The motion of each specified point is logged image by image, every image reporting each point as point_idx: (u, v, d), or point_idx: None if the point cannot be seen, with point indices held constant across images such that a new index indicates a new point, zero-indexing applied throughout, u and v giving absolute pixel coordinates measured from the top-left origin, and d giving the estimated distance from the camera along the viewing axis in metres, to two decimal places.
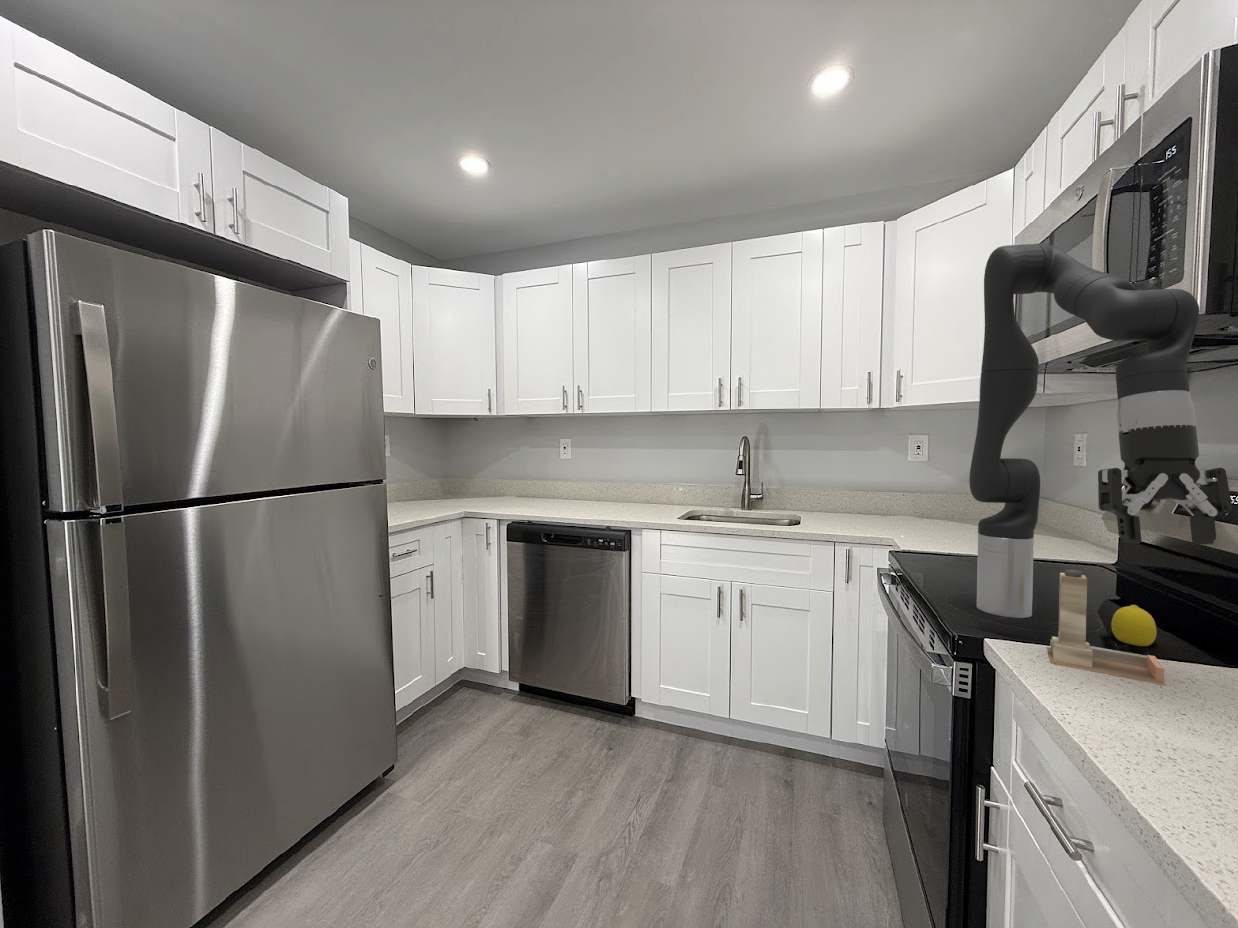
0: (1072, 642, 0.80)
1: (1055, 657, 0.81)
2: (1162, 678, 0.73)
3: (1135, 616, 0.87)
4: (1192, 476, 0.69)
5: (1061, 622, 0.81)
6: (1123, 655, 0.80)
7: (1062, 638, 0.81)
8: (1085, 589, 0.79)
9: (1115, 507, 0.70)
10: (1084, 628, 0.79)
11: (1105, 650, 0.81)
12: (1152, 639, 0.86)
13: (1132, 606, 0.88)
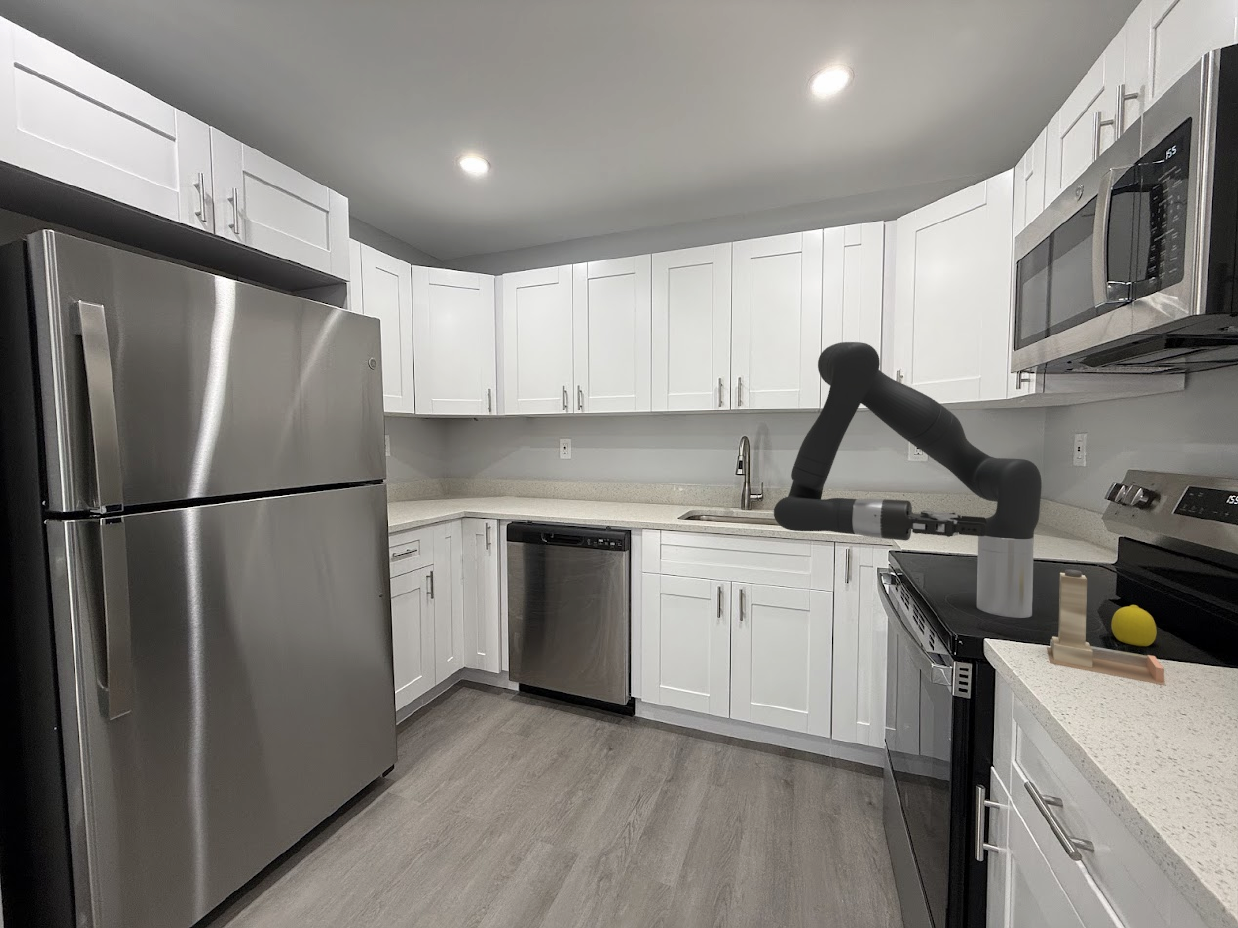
0: (1072, 642, 0.80)
1: (1055, 657, 0.81)
2: (1162, 678, 0.73)
3: (1135, 616, 0.87)
4: None
5: (1061, 622, 0.81)
6: (1123, 655, 0.80)
7: (1062, 638, 0.81)
8: (1085, 589, 0.79)
9: None
10: (1084, 628, 0.79)
11: (1105, 650, 0.81)
12: (1152, 639, 0.86)
13: (1132, 606, 0.88)
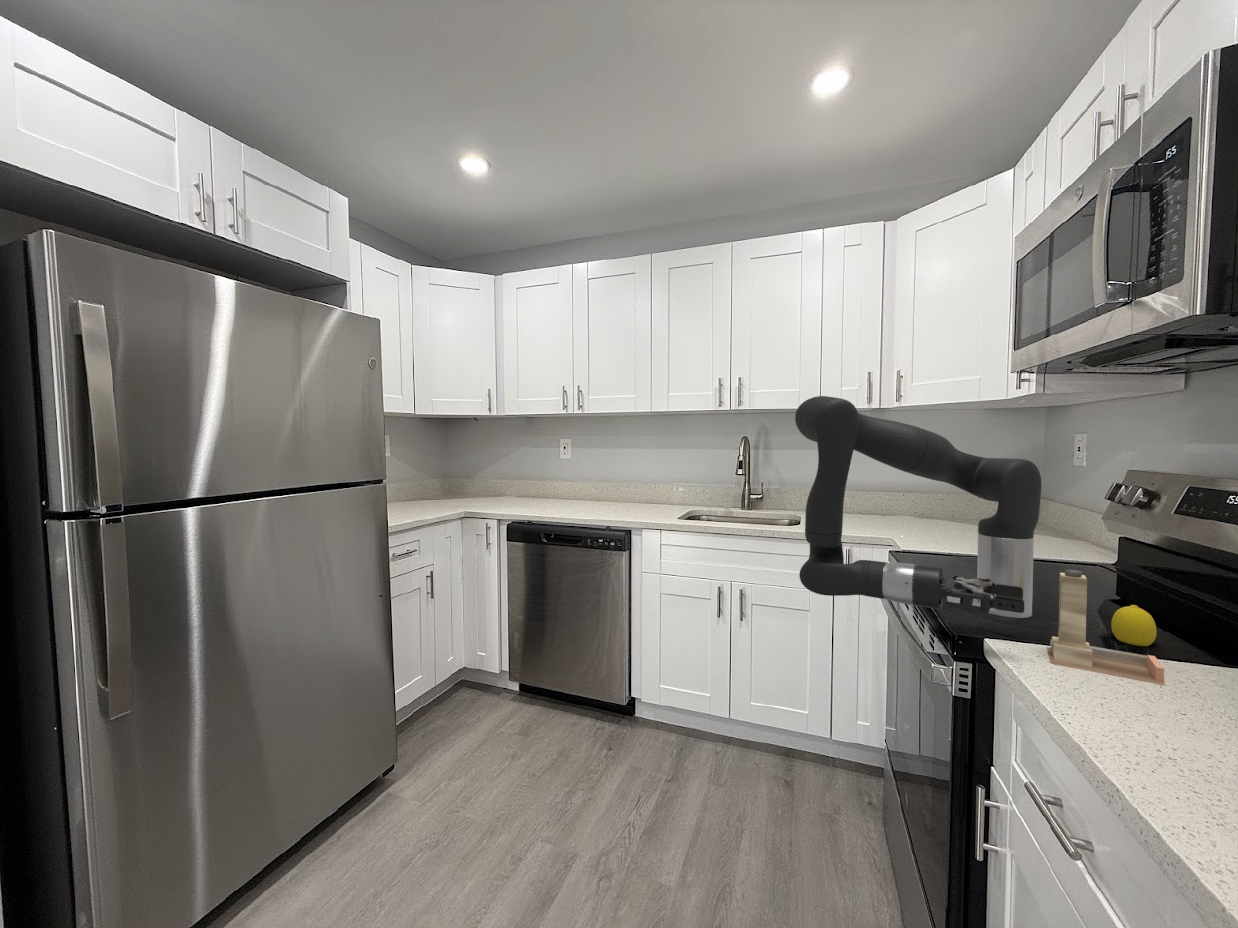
0: (1072, 642, 0.80)
1: (1055, 657, 0.81)
2: (1162, 678, 0.73)
3: (1135, 616, 0.87)
4: None
5: (1061, 622, 0.81)
6: (1123, 655, 0.80)
7: (1062, 638, 0.81)
8: (1085, 589, 0.79)
9: None
10: (1084, 628, 0.79)
11: (1105, 650, 0.81)
12: (1152, 639, 0.86)
13: (1132, 606, 0.88)
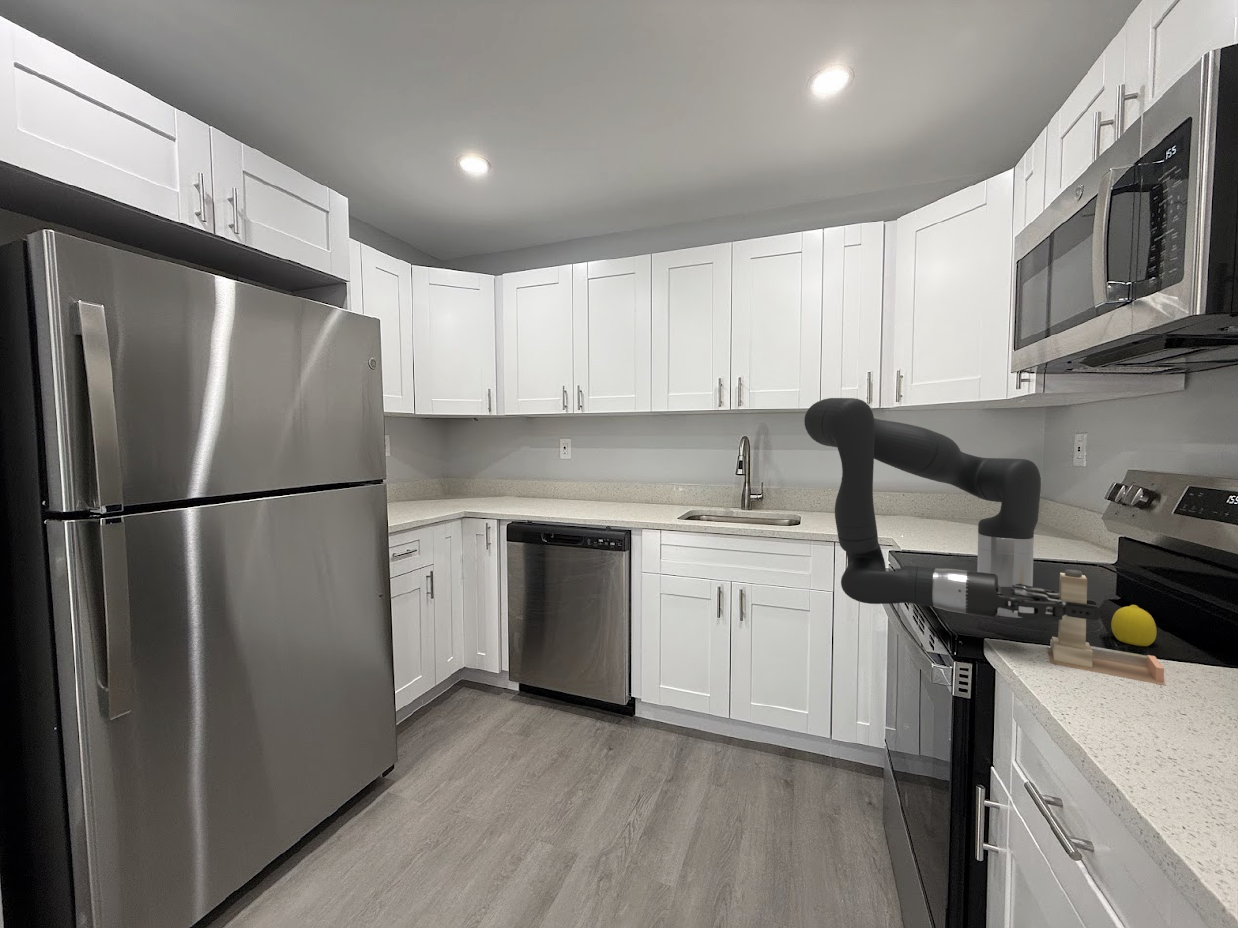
0: (1072, 642, 0.80)
1: (1055, 657, 0.81)
2: (1162, 678, 0.73)
3: (1135, 616, 0.87)
4: None
5: (1061, 622, 0.81)
6: (1123, 655, 0.80)
7: (1062, 638, 0.81)
8: (1085, 589, 0.79)
9: None
10: (1084, 628, 0.79)
11: (1105, 650, 0.81)
12: (1152, 639, 0.86)
13: (1132, 606, 0.88)
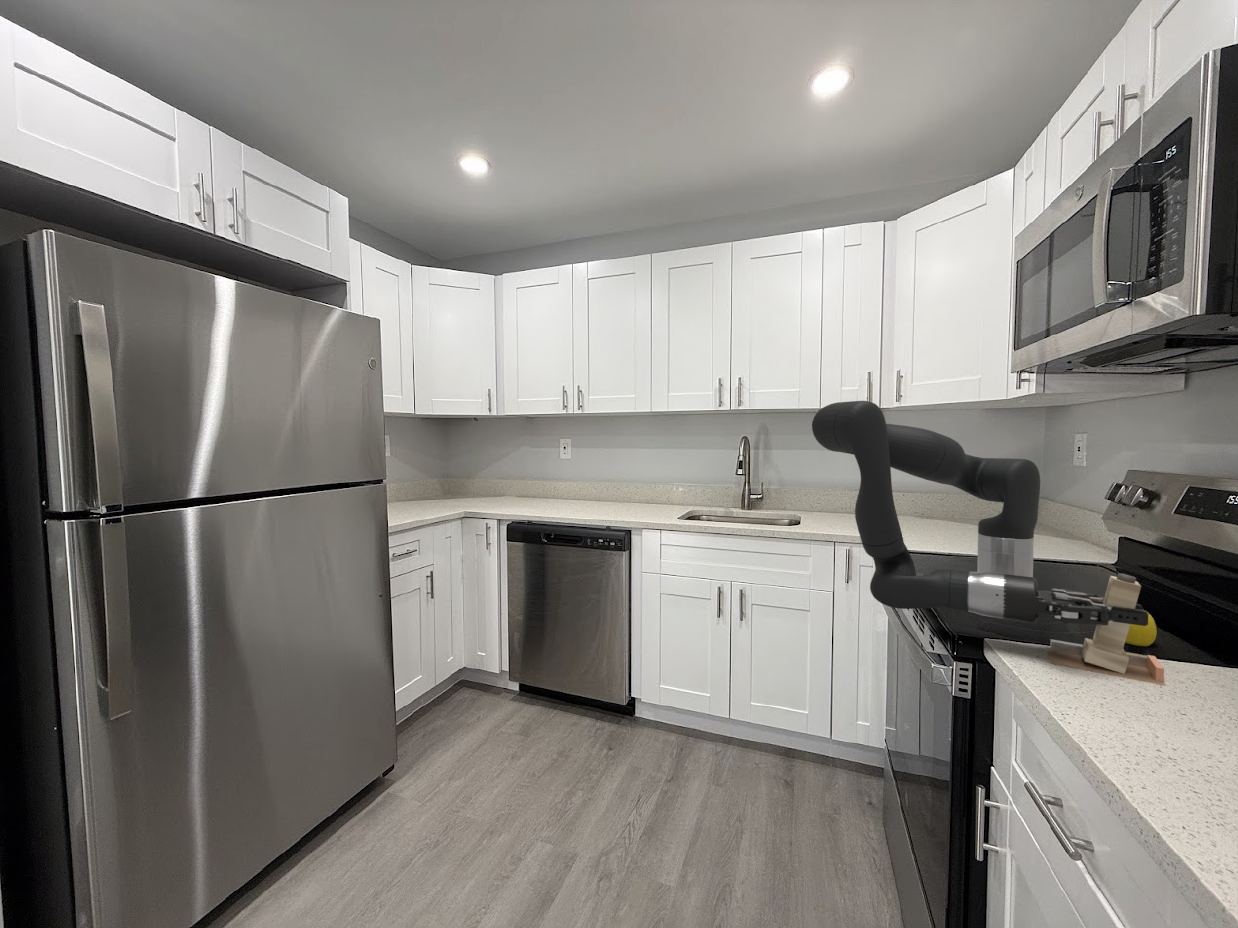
0: (1108, 646, 0.77)
1: (1087, 658, 0.78)
2: (1162, 678, 0.73)
3: None
4: None
5: (1101, 625, 0.78)
6: None
7: (1099, 641, 0.78)
8: (1136, 596, 0.75)
9: None
10: (1125, 634, 0.76)
11: None
12: (1152, 639, 0.86)
13: None
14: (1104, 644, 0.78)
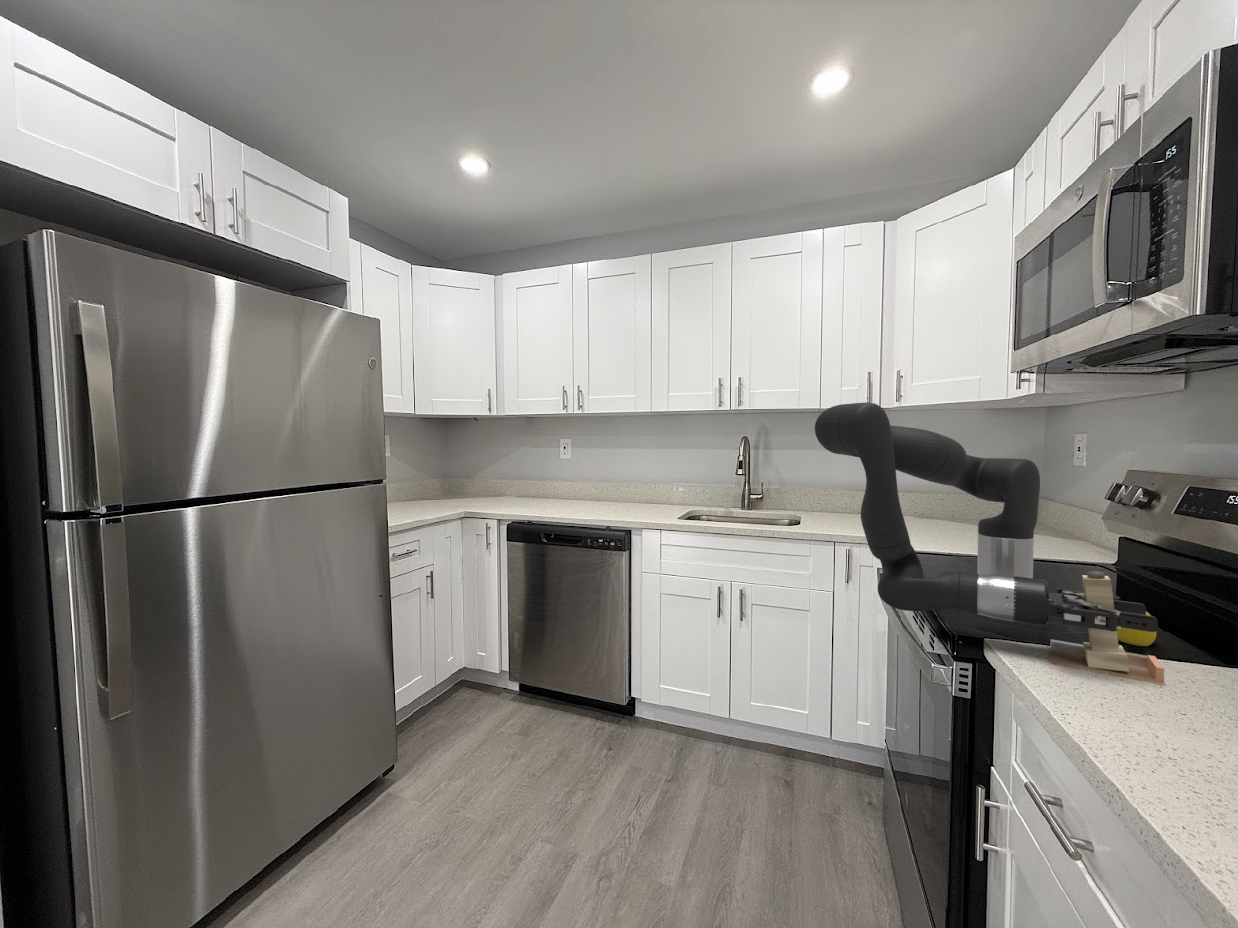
0: (1105, 646, 0.78)
1: (1089, 664, 0.78)
2: (1162, 678, 0.73)
3: None
4: None
5: None
6: None
7: (1094, 643, 0.78)
8: (1110, 590, 0.77)
9: None
10: (1115, 631, 0.77)
11: None
12: (1152, 639, 0.86)
13: None
14: (1100, 645, 0.78)
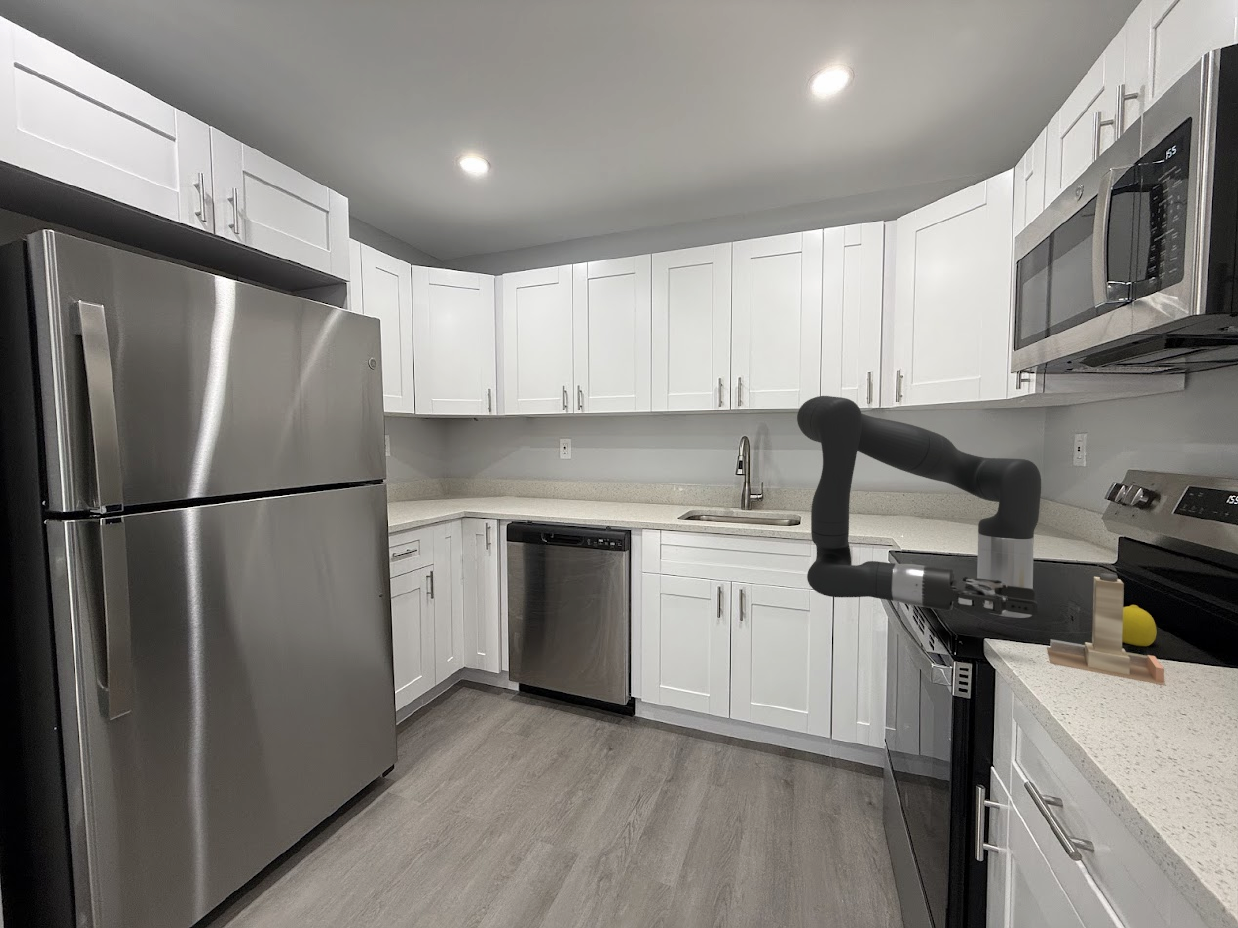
0: (1108, 648, 0.77)
1: (1090, 664, 0.78)
2: (1162, 678, 0.73)
3: (1135, 616, 0.87)
4: None
5: (1096, 628, 0.78)
6: None
7: (1097, 644, 0.78)
8: (1122, 594, 0.76)
9: None
10: (1120, 634, 0.77)
11: None
12: (1152, 639, 0.86)
13: (1132, 606, 0.88)
14: (1103, 647, 0.78)
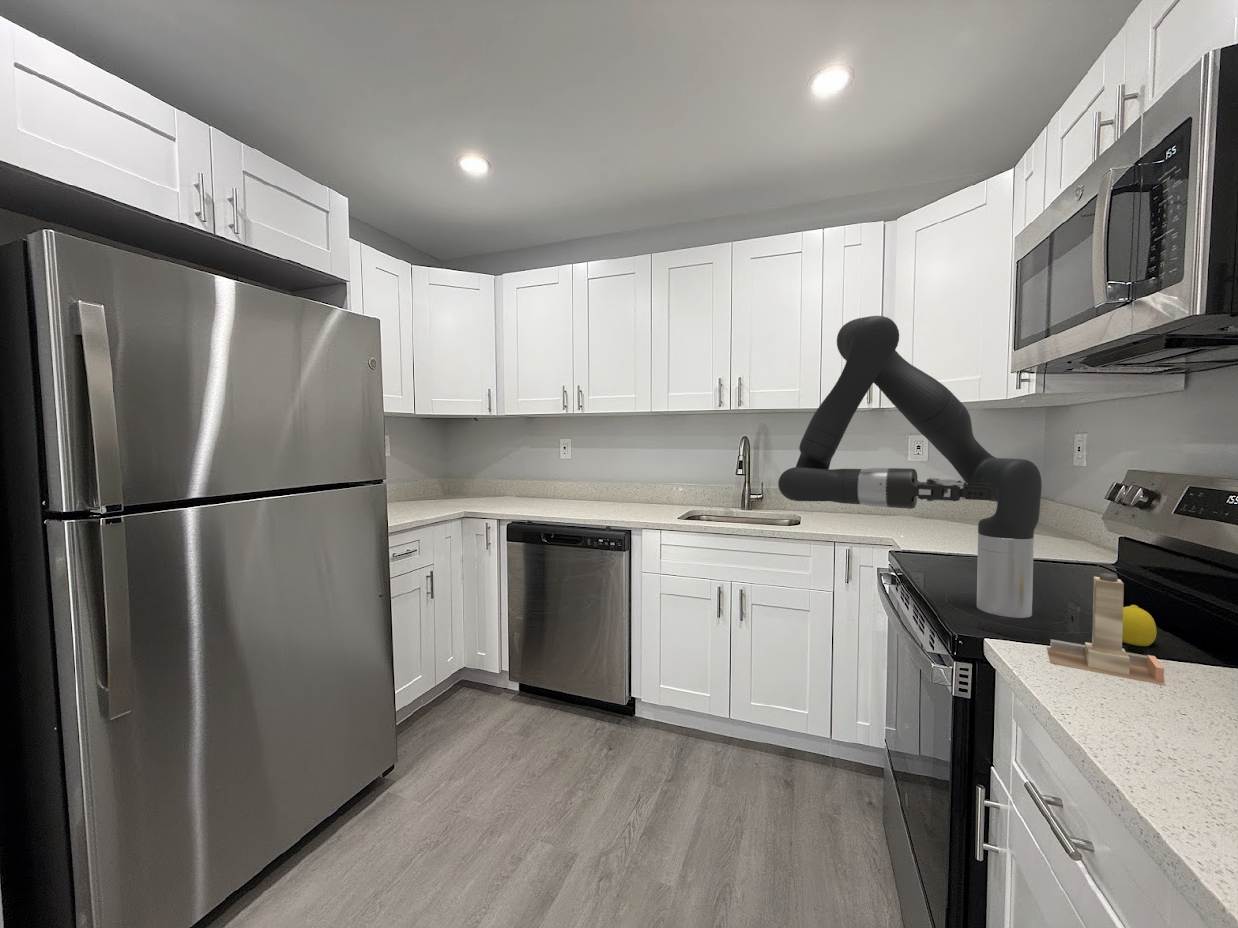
0: (1108, 648, 0.77)
1: (1090, 664, 0.78)
2: (1162, 678, 0.73)
3: (1135, 616, 0.87)
4: None
5: (1096, 628, 0.78)
6: None
7: (1097, 644, 0.78)
8: (1122, 594, 0.76)
9: None
10: (1120, 634, 0.77)
11: None
12: (1152, 639, 0.86)
13: (1132, 606, 0.88)
14: (1103, 647, 0.78)
